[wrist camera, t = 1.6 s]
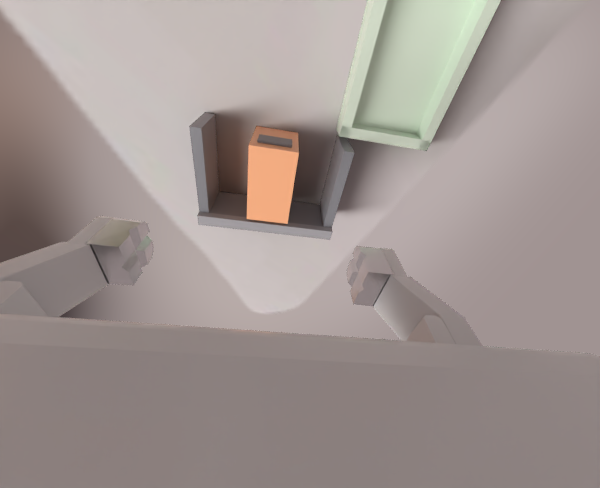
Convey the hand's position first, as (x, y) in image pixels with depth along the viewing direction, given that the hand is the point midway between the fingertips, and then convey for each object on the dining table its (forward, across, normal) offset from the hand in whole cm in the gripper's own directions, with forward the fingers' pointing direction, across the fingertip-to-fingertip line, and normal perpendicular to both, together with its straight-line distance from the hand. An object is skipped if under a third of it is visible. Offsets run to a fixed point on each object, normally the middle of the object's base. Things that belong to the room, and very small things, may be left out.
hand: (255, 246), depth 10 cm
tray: (+20, -11, -7) cm, 24 cm away
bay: (+21, 0, +5) cm, 22 cm away
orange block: (+21, 0, +5) cm, 21 cm away
